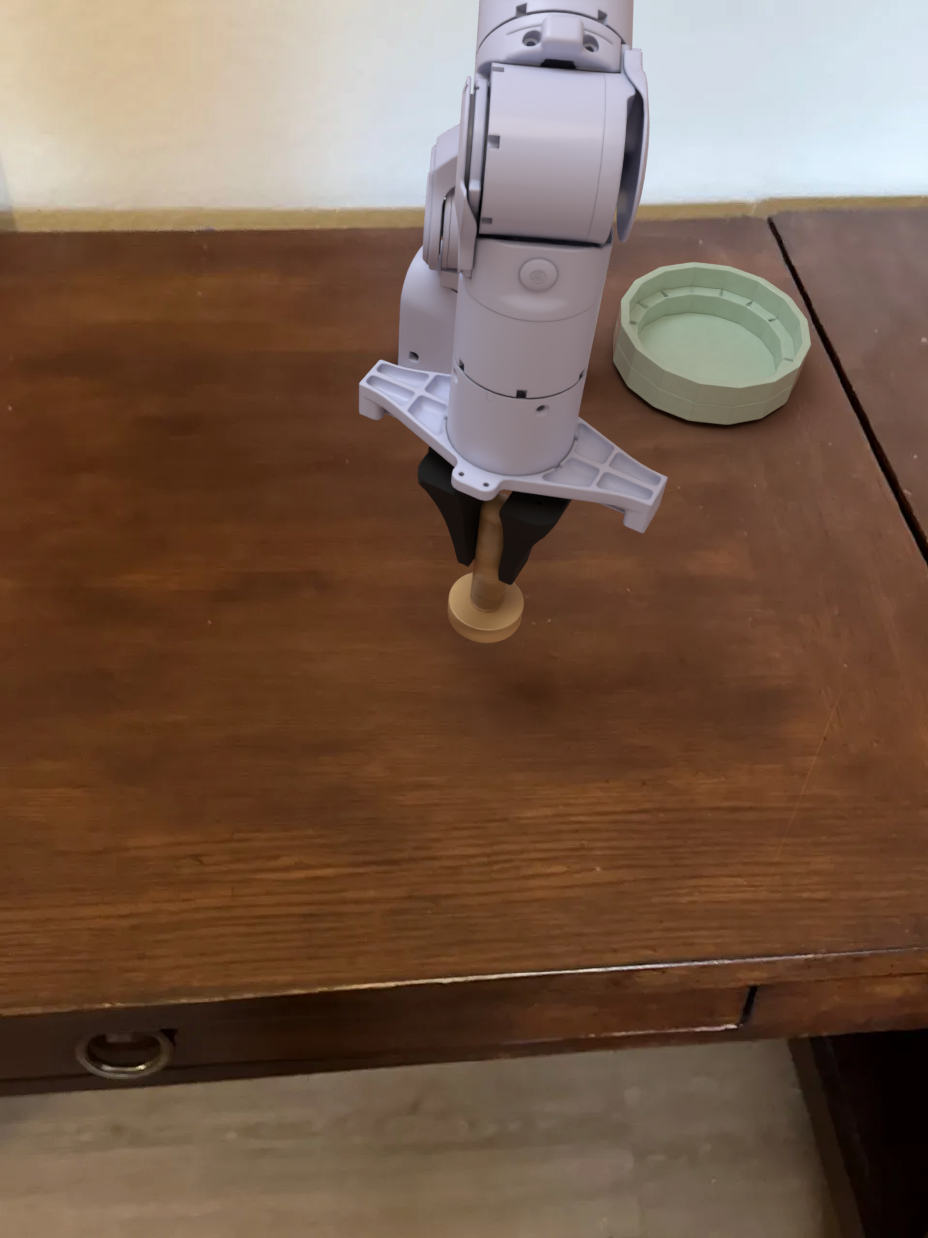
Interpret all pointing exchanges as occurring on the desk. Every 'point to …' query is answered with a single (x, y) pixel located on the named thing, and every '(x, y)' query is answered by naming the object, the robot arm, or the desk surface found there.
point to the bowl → (710, 342)
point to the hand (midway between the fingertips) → (491, 560)
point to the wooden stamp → (486, 586)
